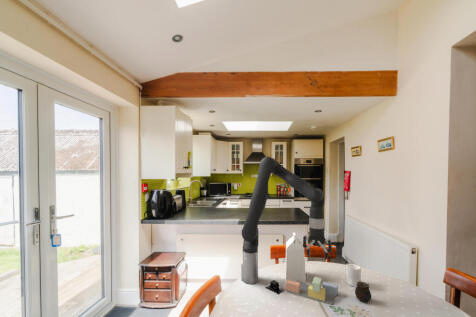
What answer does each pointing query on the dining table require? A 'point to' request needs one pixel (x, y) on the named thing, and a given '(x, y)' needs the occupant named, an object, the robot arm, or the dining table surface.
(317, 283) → the green block
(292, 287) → the terracotta block
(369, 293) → the mate gourd
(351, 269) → the white cup
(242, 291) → the dining table surface
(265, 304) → the dining table surface
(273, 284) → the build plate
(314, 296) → the mustard block
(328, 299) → the mat
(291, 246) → the milk
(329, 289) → the blue block
